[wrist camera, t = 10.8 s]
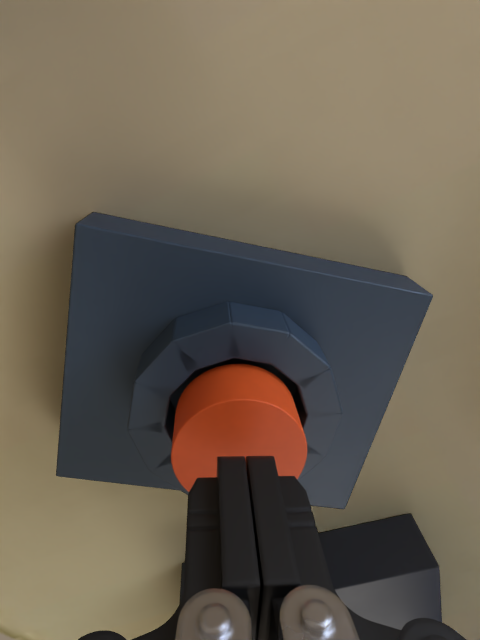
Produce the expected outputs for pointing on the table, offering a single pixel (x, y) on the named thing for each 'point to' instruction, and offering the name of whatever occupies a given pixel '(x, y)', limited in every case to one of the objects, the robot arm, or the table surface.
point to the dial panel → (382, 571)
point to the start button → (236, 422)
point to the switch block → (223, 347)
